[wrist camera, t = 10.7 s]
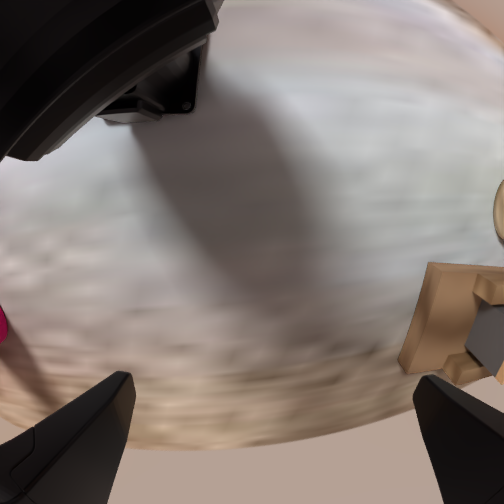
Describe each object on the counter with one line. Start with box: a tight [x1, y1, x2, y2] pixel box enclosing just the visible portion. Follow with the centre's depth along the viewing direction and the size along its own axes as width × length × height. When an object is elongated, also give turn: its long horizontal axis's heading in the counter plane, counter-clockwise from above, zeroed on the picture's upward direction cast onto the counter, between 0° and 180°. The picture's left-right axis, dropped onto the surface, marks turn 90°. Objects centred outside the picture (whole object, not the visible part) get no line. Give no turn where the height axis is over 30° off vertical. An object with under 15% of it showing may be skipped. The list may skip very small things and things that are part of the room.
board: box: [398, 262, 504, 386], centre depth 19 cm, size 9×11×4 cm
